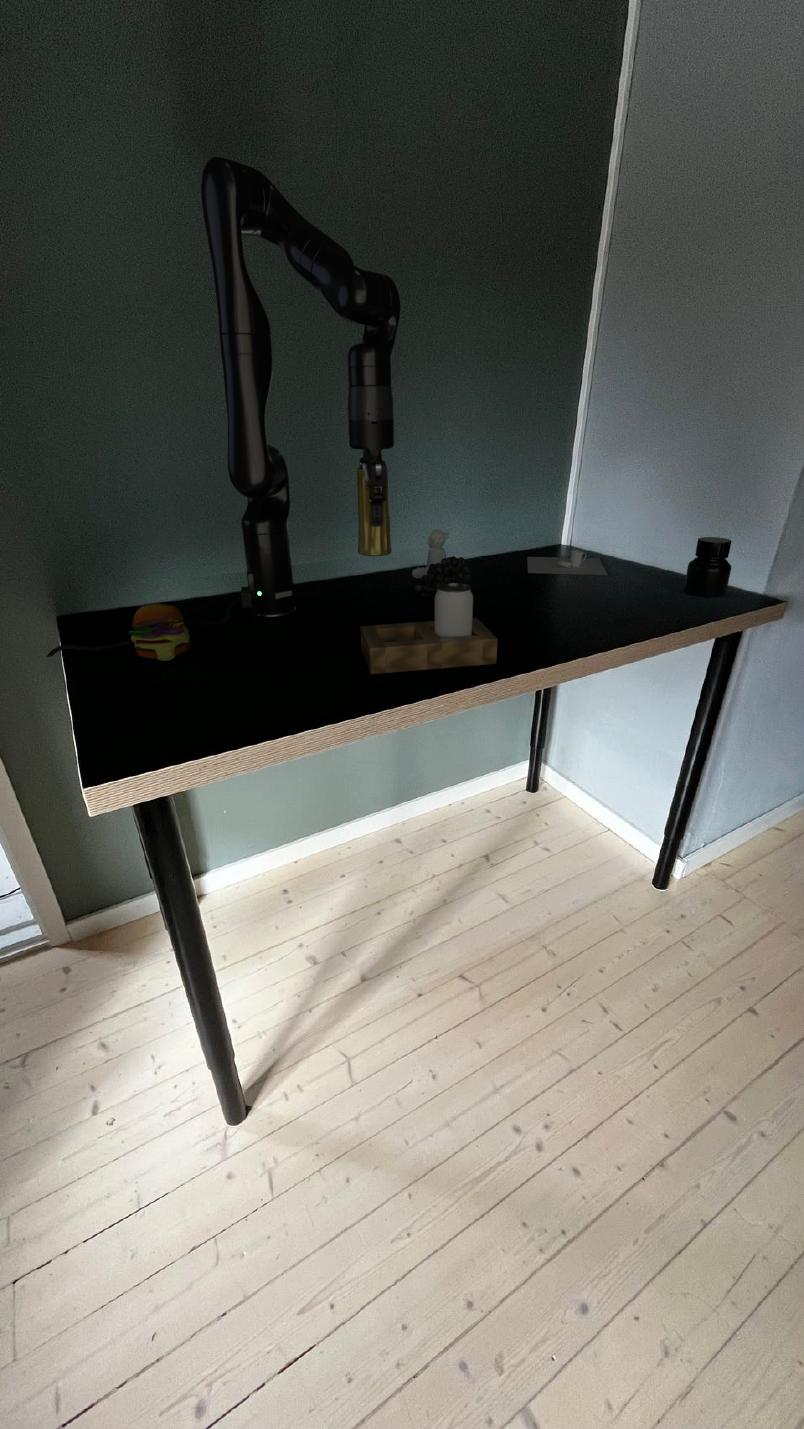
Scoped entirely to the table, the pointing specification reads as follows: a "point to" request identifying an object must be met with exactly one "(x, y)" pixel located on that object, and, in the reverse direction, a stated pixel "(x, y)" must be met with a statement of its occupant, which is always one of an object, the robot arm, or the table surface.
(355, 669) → the table surface
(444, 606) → the can
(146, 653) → the cheeseburger
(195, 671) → the table surface
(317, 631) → the table surface
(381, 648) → the holder
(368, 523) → the vase
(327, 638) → the table surface
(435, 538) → the sitting furry creature
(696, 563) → the ink bottle
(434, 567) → the fruit
